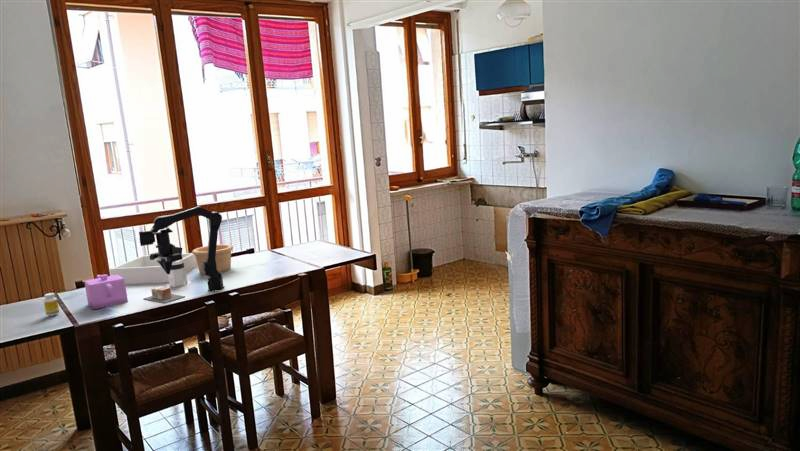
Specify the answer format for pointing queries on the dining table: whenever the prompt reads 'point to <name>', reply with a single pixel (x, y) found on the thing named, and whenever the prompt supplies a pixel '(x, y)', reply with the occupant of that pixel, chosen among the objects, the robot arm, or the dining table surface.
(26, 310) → the dining table surface
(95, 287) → the pink knobbed box
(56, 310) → the supplement bottle
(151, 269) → the tub
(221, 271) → the pottery
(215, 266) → the robot arm
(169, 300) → the mat
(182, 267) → the white upright block
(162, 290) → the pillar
